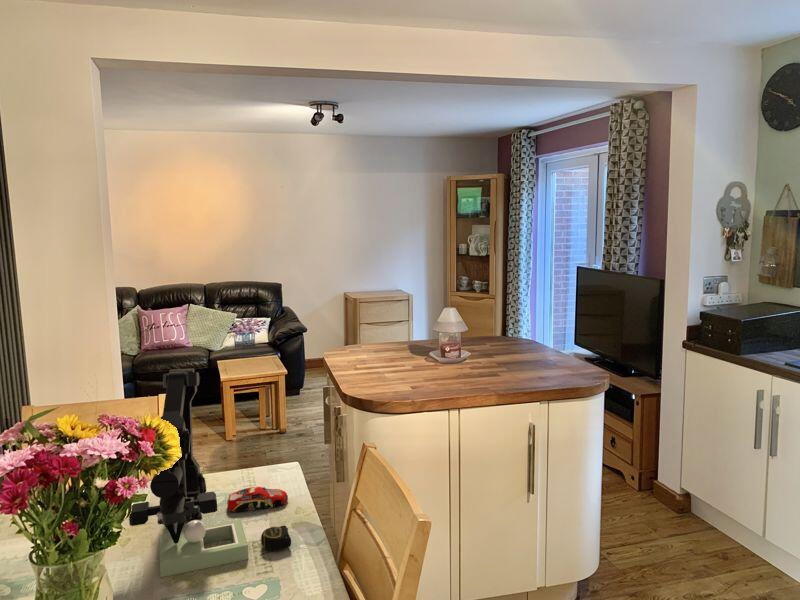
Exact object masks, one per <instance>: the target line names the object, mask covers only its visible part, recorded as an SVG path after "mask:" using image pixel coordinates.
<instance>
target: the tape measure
mask: <svg viewBox="0 0 800 600" xmlns="http://www.w3.org/2000/svg"><path fill="white" fill-rule="evenodd" d="M260 544H261V546H262V548H263V549H265V551H266V550H267V551H271V552H277V551H280V550H284V549H287V548H290V547H291V545H292V538H291V536H290V533H289V528H287V526H286V525H285V524H283V525H280V526H270V527H268V528H266V529H264V530H263V531H262V534H261V535H260Z"/></svg>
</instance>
